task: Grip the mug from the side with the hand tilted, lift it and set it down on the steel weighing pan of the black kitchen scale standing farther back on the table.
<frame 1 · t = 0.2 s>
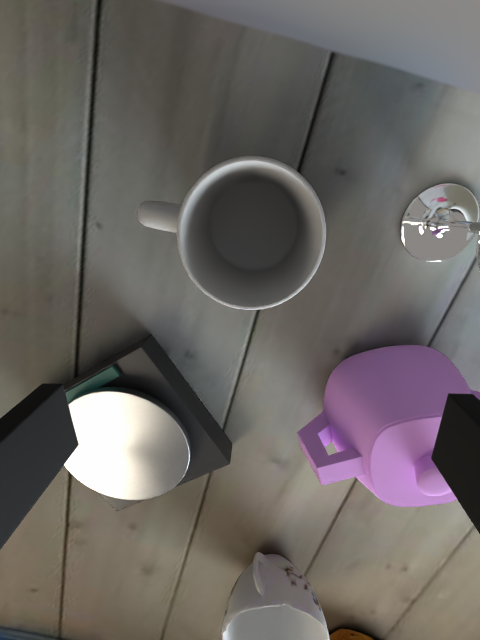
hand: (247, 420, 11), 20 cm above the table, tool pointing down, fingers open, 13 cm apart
scale pan: (123, 447, 32), point 4 cm above the table, slide at -0.3 cm
mug: (234, 222, 28), on the table
scale: (137, 420, 36), on the table
teapot: (387, 392, 33), on the table
wineglass: (437, 223, 27), on the table
teacup: (270, 559, 43), on the table
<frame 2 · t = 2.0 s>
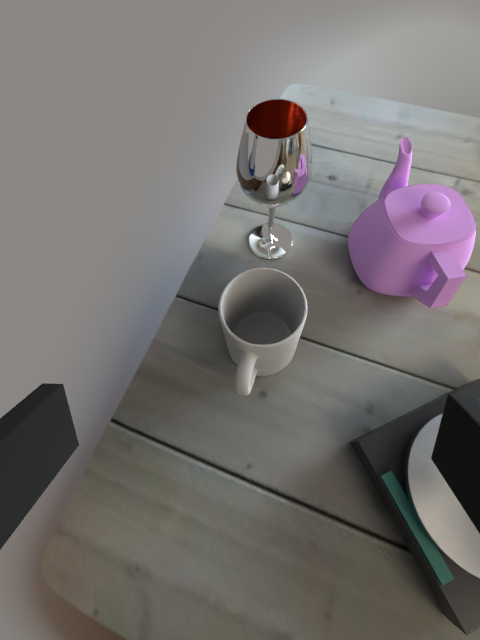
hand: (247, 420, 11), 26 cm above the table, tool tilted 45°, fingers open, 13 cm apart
mug: (257, 356, 38), on the table
scale: (460, 484, 32), on the table
teapot: (392, 258, 43), on the table
wineglass: (270, 242, 45), on the table
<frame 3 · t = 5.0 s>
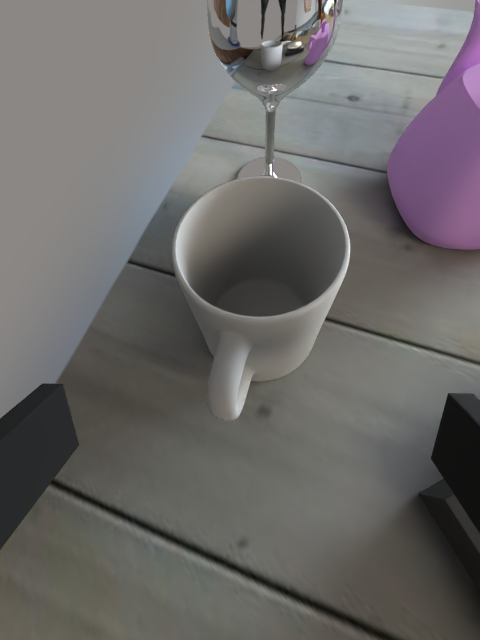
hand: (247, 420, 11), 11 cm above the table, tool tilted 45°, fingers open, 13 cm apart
mug: (254, 349, 24), on the table
teapot: (453, 198, 29), on the table
wineglass: (268, 183, 31), on the table
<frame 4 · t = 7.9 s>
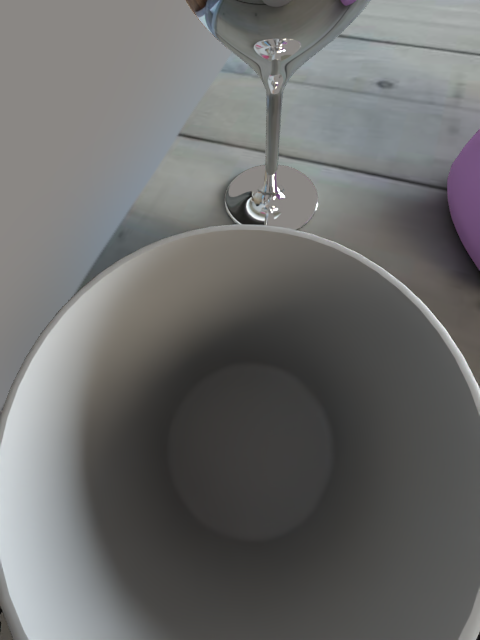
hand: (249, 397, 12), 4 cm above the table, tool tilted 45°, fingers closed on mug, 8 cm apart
mug: (241, 481, 15), on the table, touching gripper
wineglass: (270, 201, 22), on the table
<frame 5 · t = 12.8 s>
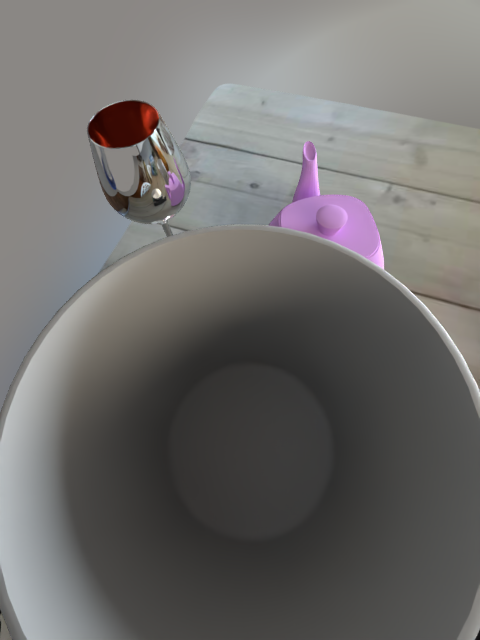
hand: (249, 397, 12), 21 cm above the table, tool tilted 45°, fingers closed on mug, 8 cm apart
mug: (241, 481, 15), point 17 cm above the table, touching gripper
teapot: (311, 275, 38), on the table
wineglass: (179, 259, 41), on the table
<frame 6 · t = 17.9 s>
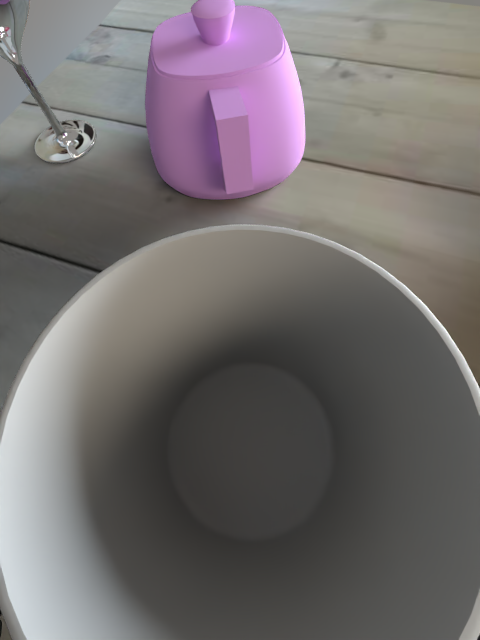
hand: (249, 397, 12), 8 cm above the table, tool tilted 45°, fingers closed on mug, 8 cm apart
mug: (241, 482, 15), point 4 cm above the table, touching gripper, scale pan
teapot: (228, 156, 30), on the table
wineglass: (67, 143, 32), on the table
when the fingers open (8 cm above the table, at t = 18.0 s): mug stays where it is, resting on scale pan.
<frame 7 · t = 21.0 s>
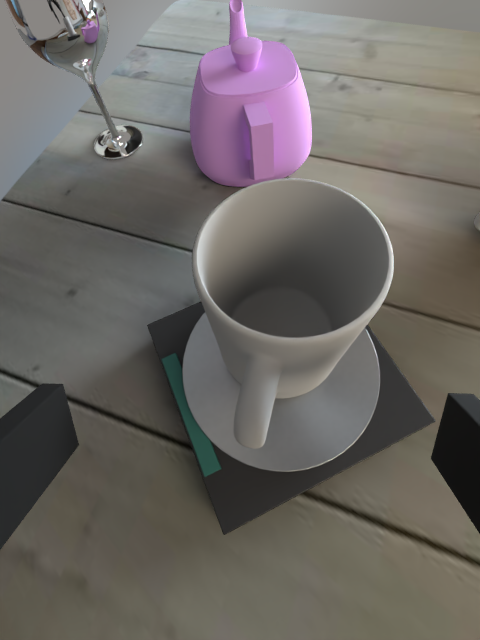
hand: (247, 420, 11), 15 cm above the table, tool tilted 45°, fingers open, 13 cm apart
scale pan: (278, 364, 23), point 4 cm above the table, slide at -0.4 cm, touching mug, scale
mug: (272, 363, 22), point 4 cm above the table, touching scale pan
scale: (276, 377, 26), on the table
teapot: (250, 153, 38), on the table
wineglass: (119, 144, 40), on the table
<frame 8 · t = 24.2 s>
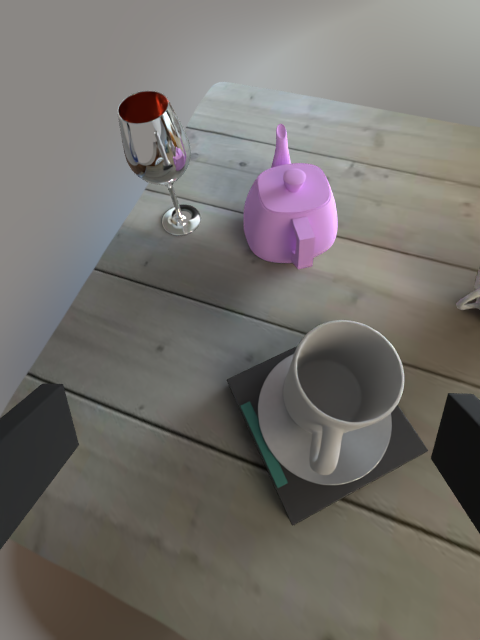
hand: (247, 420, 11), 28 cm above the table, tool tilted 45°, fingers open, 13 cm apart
scale pan: (322, 411, 33), point 4 cm above the table, slide at -0.4 cm, touching mug, scale
mug: (319, 411, 33), point 4 cm above the table, touching scale pan
scale: (316, 416, 37), on the table
teapot: (286, 232, 49), on the table
wineglass: (181, 221, 51), on the table
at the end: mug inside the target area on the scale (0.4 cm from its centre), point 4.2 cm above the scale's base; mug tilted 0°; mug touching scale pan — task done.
